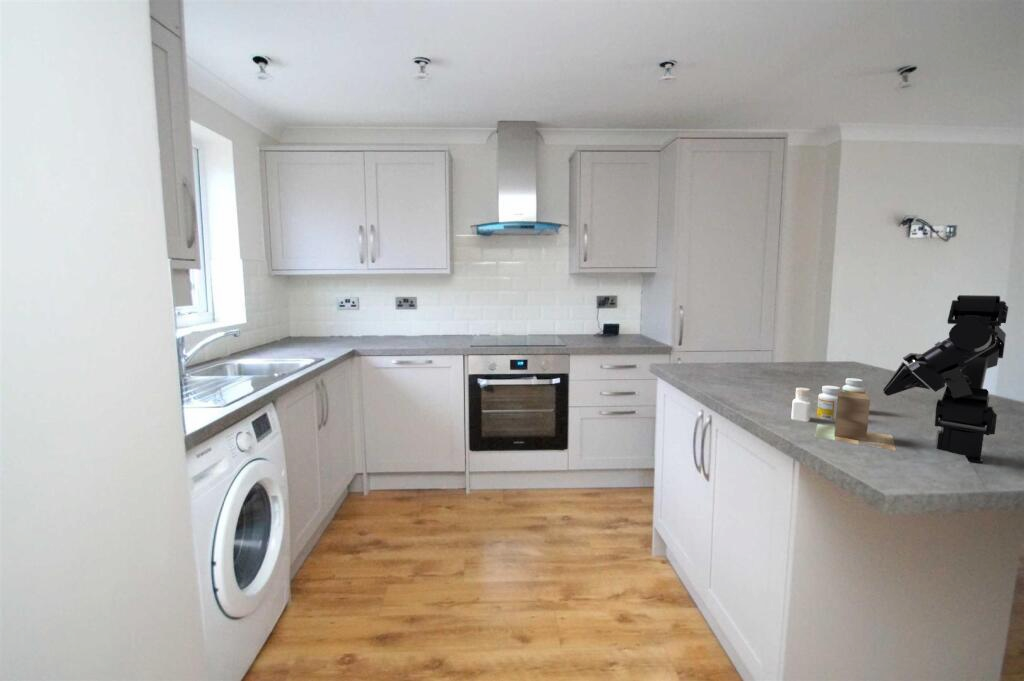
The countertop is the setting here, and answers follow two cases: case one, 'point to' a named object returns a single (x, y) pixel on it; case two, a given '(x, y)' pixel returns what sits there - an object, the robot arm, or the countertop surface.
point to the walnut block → (852, 415)
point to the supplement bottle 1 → (828, 402)
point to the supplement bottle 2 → (854, 386)
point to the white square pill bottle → (801, 405)
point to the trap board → (875, 438)
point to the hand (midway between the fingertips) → (885, 393)
